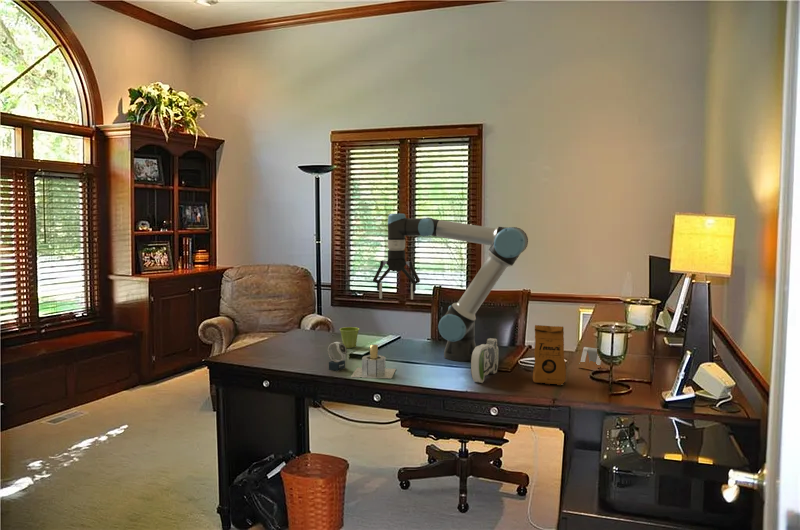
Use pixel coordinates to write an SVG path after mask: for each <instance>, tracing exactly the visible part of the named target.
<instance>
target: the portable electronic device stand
mask: <svg viewBox="0 0 800 530" xmlns="http://www.w3.org/2000/svg"><path fill="white" fill-rule="evenodd" d="M597 349H598V348H595V347H588V346H583V350H582V352H581V358H580V362H585V363H586V359H587V357H588V360H589V362H590V361H593V362H596V364H597V365H601V366H602V364H601V363H602V360H600V358H599V356H598V354H597ZM587 355H588V356H587Z"/></svg>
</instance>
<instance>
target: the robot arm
mask: <svg viewBox="0 0 800 530" xmlns="http://www.w3.org/2000/svg"><path fill="white" fill-rule="evenodd" d="M406 237H437V238H443V239H450V240H455V241H461V242H467V243H473V244H479V245H485V246H490V247H489V249H488V251H487V252H488V256H487V258H486V260H485V261H484V263H483V264H482V265H481V266H480V269H479V270H478V272H477V273H476V275H475V276H474V278H473V279H472V280H471V282H470V283H469V285H468V286H467V288H466V290H465V291H464V293H463V294H462V296H461V297H460V298H459V300H458V301H457V302H454V303H452V304H451V305H449V306H448V309H447V311H446V313H445V314H444V315H443V316H442V317H441V318H440V319H439V322H438V326H437V327H438V328H437V329H438V333H439V334H440V336H441V337H442V338H443V339H444V340H446V341H447V342H446V344H445V348H444V350H443V358H445V359H447V360H451V361H459V362H465V361H466V362H467V361H470V362H471V358H472V353H473V350H474V348H475V347H477V345H476V341H475V334H476V332H475V327H476V326H475V321H476V320H477V318H476V314H477V312H478V310H479V309H480V307H481V306H482V304H483V303H484V302H485V300H486V299H487V297H488V296H489V294H490V293H491V291H492V290H493V288H494V287H495V286H496V284H497V282H498V281H499V280H500V278H501V276H502V275H503V273H504V272H505V271H506V269H507V268H508V267H513V266H514V264H515V262H516V261H517V260H518V258H519V257H520V255H521V253H523V252H525V250H527V247H528V244H529V237H528V234H527V233H526V231H524V230H523V228H522V229H521V228H519V227H517V226H511V227H506V226H505V227H504V226H497V227H496V228H495V227H488V226H484V225H477V224H476V225H475V224H469V223H461V222H456V221H449V220H442V219H435V218H433V217H424V218H423V217H420V218H419V217H418V218H417V217H416V218H410V217H409V218H407V217H406V214H405V213H390V214H388V217H387V249H388V250H387V261H386V260H382V259H381V260H380V262H379V263H380V264H379V266H378V269H377V271H376V273H375V274H374V277H373V279H372V282H373V283H376V290H377V291H378V293H379V299H380V300H381V299H383V283H382V281H383V280H384V278H385V277H387V275H388V274H389V273H390V272H401V271H402V272H403V273H404V275H405V276H406V278H407V279H409V281H410V282H411V283H410V300H414V292H416V290H417V284H419V283H420V282H421V279H420V277H419V275H418V273H417V270H416V269H415V267H414V262H413V260H410V261H409V260H408V261H407V260H406V250H405V249H406ZM386 265H387V267H388V268H387V269H386V270H385V271H384V273H383V274H381V272H382V269H383V267H384V266H386ZM406 265H407V267H409V268H410V270H411V272H412V275H413V277H414V278H413V277H412V275H411V274H410V273H409V272H408V270H407V269H406V268H405V266H406ZM380 274H381V276H380ZM379 276H380V277H379Z"/></svg>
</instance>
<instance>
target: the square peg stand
mask: <svg viewBox="0 0 800 530" xmlns="http://www.w3.org/2000/svg"><path fill="white" fill-rule="evenodd" d="M378 345H379V344H370V345H369V346H370V347H369V355H370V359H378V355H379V354H378V353H379V348H378ZM396 370H397V369H396V368H386V367H385V374H382V375H376V376H375V375H365V374H362V367H356V369H355V370H354V372H353V373H352V374H351V376H350V378H360V377H362V378H365V379H393V378H394V377H393V376H394V374H395V372H396Z"/></svg>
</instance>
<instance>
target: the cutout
mask: <svg viewBox="0 0 800 530" xmlns="http://www.w3.org/2000/svg"><path fill="white" fill-rule="evenodd" d="M498 366H499V346H498V339H497V338H491V337H489V338H487V339H486V344H485V343H482V344H480V345H476V347H475V348H474V350H473V353H472V358H471V360H470V367H471V368H470V371H471V376H472V380H473V382H474V383H480V384H483V383H484V381H485V377H486V376H488V375H489V374H491V375H494V374H496V373H498V368H499V367H498Z"/></svg>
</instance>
